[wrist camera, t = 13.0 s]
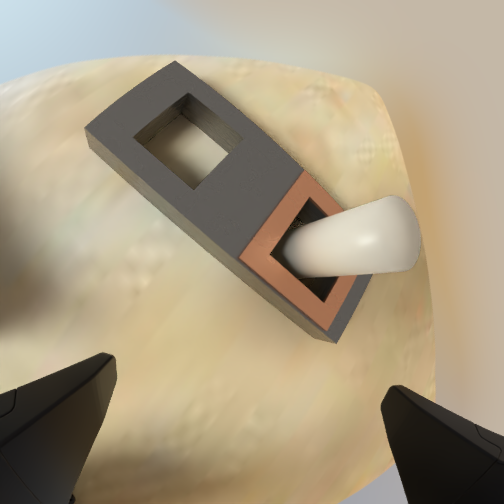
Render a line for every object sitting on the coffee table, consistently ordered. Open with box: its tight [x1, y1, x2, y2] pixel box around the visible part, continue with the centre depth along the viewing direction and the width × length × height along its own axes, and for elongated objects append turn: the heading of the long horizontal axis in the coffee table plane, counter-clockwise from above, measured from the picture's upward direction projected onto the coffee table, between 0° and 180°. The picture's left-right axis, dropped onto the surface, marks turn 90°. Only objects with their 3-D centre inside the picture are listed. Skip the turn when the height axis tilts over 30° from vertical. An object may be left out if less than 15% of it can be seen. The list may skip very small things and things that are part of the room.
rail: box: [84, 61, 373, 344], centre depth 20 cm, size 9×24×3 cm, turn 52°
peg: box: [272, 195, 421, 278], centre depth 18 cm, size 4×4×11 cm
